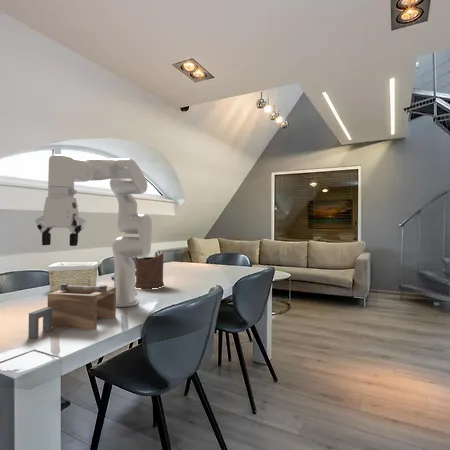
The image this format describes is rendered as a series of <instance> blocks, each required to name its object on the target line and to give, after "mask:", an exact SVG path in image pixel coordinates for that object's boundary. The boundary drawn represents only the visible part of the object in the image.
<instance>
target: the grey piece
mask: <svg viewBox="0 0 450 450" xmlns="http://www.w3.org/2000/svg"><path fill="white" fill-rule="evenodd" d="M41 318H42V332H45V333H46V332H48V333H49V332H51V331H53V327H52V307H48V306H45V307H43V308H40V309H37V310H34V311H31V312H29V313H28V333H27V334H28V339H37V338H38V337H39V329H40V328H39V327H40V326H39V324H40V323H39V321H40V319H41Z"/></svg>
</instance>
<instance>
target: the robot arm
mask: <svg viewBox="0 0 450 450" xmlns="http://www.w3.org/2000/svg"><path fill="white" fill-rule="evenodd" d="M47 178H48V179H47V180H48V181H47V182H48V183H47V184H48V185H47V196H45V197H46V198H45V201H44V206H43V213H42V215H41V216H39V217H37V218H36V219H35V220H34V222H35V224H36V227H37V229H38V230H39V232H40V233H41V245H42V246H50V245H51V241H52V240H51V239H52V236H51V234H52V233H51V230H52V229H53V228H58V229H59V228H64V229H65V228H66V229H67V228H68V229H69V231H70V234H69V246H70V247H76V246H78V242H79V234H80V233H81V231H82V230H83V229H84V227H85V224H86V223H87V221H86V219H84V218H82V217H80V216H79V208H78V207H79V206H78V200H77V198H76V197H75V195H76V194H78V191H77V190H76V189H75V183H80V182H81V183H85V182H89V181H105V180H109V187H110V189H111V191H112V192H113V194H114V196H115V197H116V200H117V203H118V213H117V230H118V232H119V233H120V234H127V235H138V236H119V237H116V238H115V239H114V240H113V242H112V246H111V247H112V254H113V262H114V267H113V269H114V271H113V273H114V274H113V276H114V281H113V287H116V308H128V307H133V306H136V305H138V304H139V300H138V299H137V298H136V296H137V295H138V292H137V291H136V289H135V283H136V276H135V271H136V262H135V261H134V260H133V258H135V257H137V258H145V257H149V255H150V253H151V248H152V236H153V235H152V234H153V233H152V232H153V223H152V218H151V217H150V215H148V214H146V213H145V214H144V213H138V202H137V201H136V199H135V197H134V196H133V195H141V194H144V193H146V191H147V190H148V181H147V178H146V176H145V175H144V173H143V171H142V169H141V168H140V167H139V164H138V163H137V162H136V161H135V160H134V159H132V158H129V157H127V158H120V157H119V158H89V159H77V158H73V157H71V156H69V155H65V154H52V155H50V156H49V158H48V177H47Z"/></svg>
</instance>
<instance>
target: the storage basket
mask: <svg viewBox="0 0 450 450" xmlns="http://www.w3.org/2000/svg"><path fill="white" fill-rule="evenodd" d="M98 267H99V262H98V261H95V262H94V261H85V262H83V261H81V262H80V261H79V262H76V261H75V262H72V261H71V262H70V261H69V262H68V261H67V262H63V261H61V262H59V261H58V262H55V263H52V264H50V265H48V266H47V271H48V273H49V276H48V277H49V279H48V280H49V285H50V286H49V289H50V290H49V291H50V292H55V291H58V290H61V284H69V285H72V286H75V285H77V286H97V282H98V281H97V279H98Z"/></svg>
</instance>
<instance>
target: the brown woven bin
mask: <svg viewBox="0 0 450 450" xmlns="http://www.w3.org/2000/svg"><path fill="white" fill-rule="evenodd" d="M134 258H135V267H136V271H135V287H136V288H141V289H152V288H159V287H162V286H164V285H165V284H164V253H163V252H162V253H160V254H159V255H157V256H147V257H139V258H138V257H134Z"/></svg>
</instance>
